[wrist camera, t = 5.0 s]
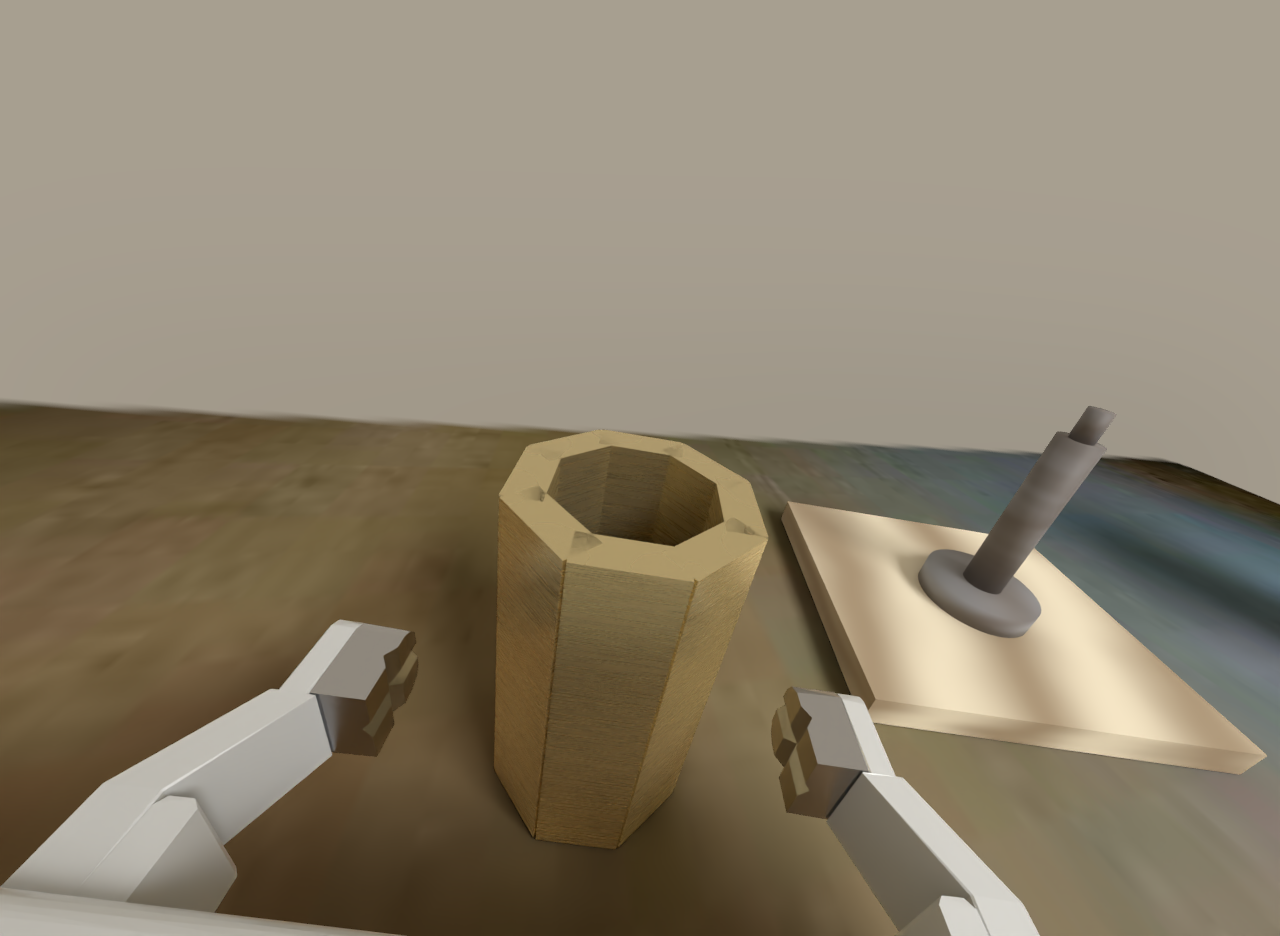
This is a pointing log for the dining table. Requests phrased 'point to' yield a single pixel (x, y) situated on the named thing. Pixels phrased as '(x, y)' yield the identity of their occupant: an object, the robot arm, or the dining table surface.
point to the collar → (612, 624)
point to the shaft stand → (1000, 630)
